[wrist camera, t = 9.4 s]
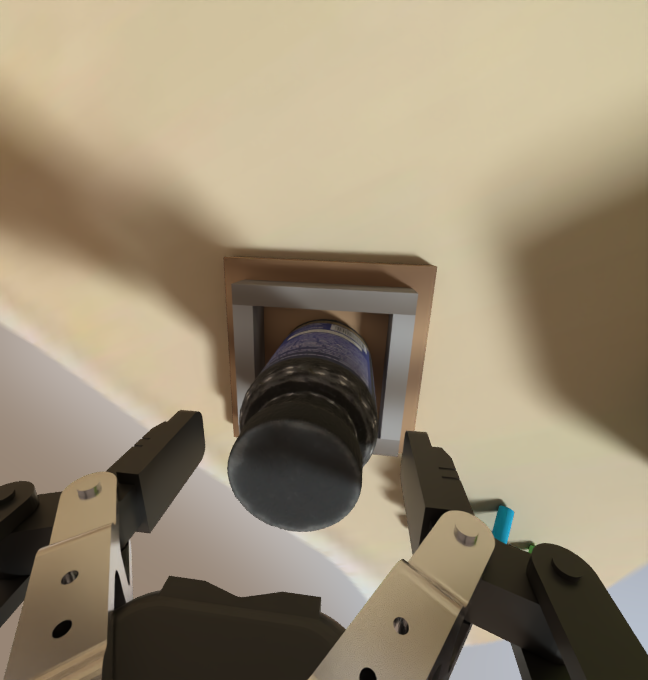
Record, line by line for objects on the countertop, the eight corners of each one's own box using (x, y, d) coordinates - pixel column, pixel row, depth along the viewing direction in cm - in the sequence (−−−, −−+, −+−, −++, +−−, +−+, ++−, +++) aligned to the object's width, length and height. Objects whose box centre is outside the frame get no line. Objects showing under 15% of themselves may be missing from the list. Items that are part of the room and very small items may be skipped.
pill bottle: (265, 336, 21) (172, 430, 11) (351, 302, 20) (340, 370, 9) (303, 414, 23) (254, 564, 12) (385, 386, 21) (410, 527, 11)
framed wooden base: (231, 256, 21) (207, 259, 18) (432, 265, 20) (446, 270, 17) (239, 427, 25) (221, 455, 22) (408, 444, 24) (416, 475, 20)
